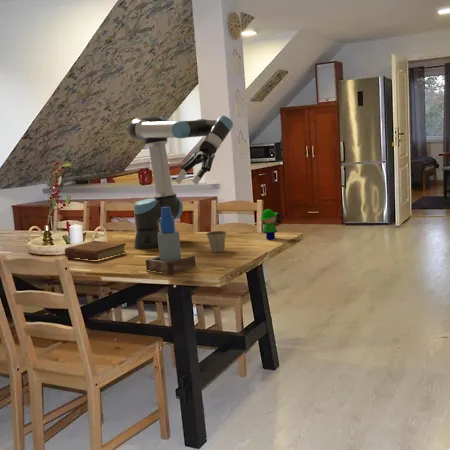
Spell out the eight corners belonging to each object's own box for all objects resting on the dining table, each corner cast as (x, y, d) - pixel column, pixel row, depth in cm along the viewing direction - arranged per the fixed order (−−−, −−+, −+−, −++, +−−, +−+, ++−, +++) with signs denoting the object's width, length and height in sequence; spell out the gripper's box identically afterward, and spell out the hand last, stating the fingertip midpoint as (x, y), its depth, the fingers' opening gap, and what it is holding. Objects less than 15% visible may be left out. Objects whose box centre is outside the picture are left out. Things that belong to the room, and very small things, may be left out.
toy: (282, 238, 296) (280, 208, 294) (266, 241, 293) (264, 211, 291) (274, 236, 304) (272, 207, 302) (258, 238, 301) (256, 209, 299)
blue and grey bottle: (160, 269, 246) (154, 209, 242) (160, 264, 254) (155, 206, 250) (182, 267, 246) (176, 207, 242) (181, 262, 255) (176, 204, 251)
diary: (65, 260, 291) (64, 248, 290) (95, 251, 305) (94, 240, 304) (97, 263, 277) (95, 251, 276) (126, 254, 291) (125, 242, 290)
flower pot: (230, 248, 283) (229, 230, 281) (224, 253, 274) (222, 234, 272) (211, 249, 286) (210, 231, 284) (204, 253, 277) (203, 234, 276)
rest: (146, 271, 250) (145, 259, 250) (171, 263, 261) (170, 252, 260) (171, 274, 240) (170, 263, 240) (195, 267, 250) (194, 255, 250)
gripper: (232, 150, 264) (207, 188, 258) (199, 151, 284) (175, 187, 277) (221, 139, 260) (196, 177, 254) (189, 141, 280) (165, 176, 273)
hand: (185, 182), depth 266 cm, fingers open, 13 cm apart
